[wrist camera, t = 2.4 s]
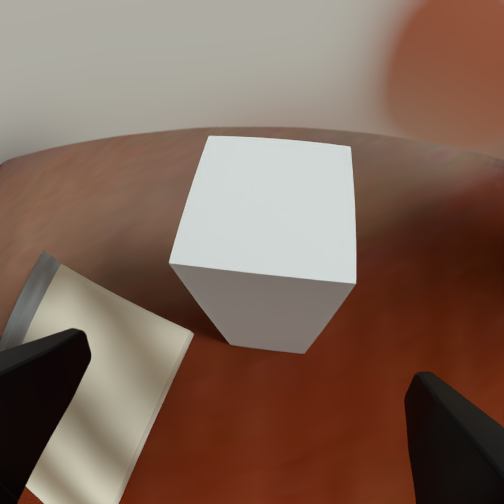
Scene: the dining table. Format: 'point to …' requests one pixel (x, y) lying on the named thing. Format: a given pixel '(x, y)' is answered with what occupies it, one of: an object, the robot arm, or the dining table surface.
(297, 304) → the grey carton
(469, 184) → the dining table surface
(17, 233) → the dining table surface
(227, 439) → the dining table surface
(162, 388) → the shelf board
